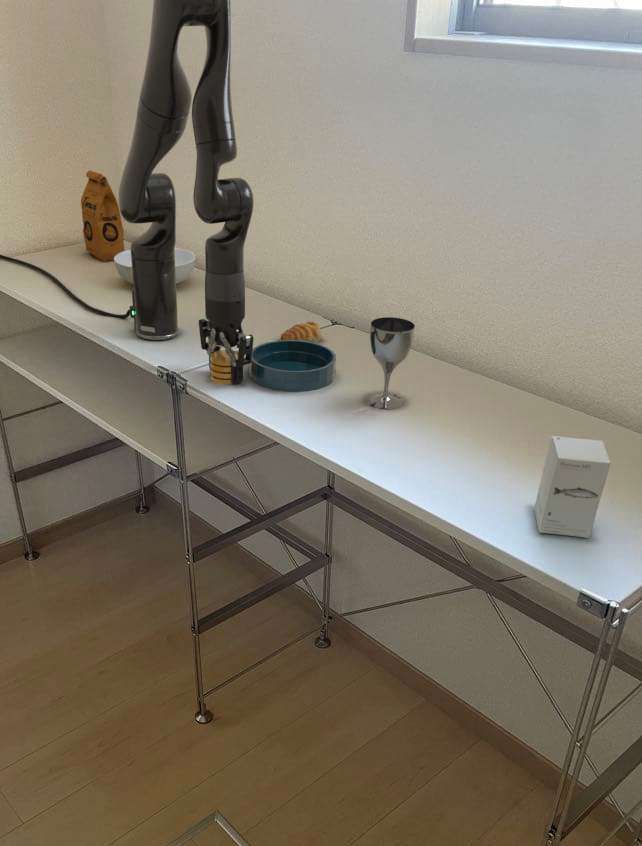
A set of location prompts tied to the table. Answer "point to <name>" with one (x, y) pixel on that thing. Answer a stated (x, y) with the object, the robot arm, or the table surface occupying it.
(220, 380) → the tan ridged cylinder
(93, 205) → the coffee package
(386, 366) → the wine glass
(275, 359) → the bowl
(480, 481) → the table surface
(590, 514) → the white packaging box
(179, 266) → the serving bowl
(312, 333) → the pastry
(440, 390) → the table surface
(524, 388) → the table surface
